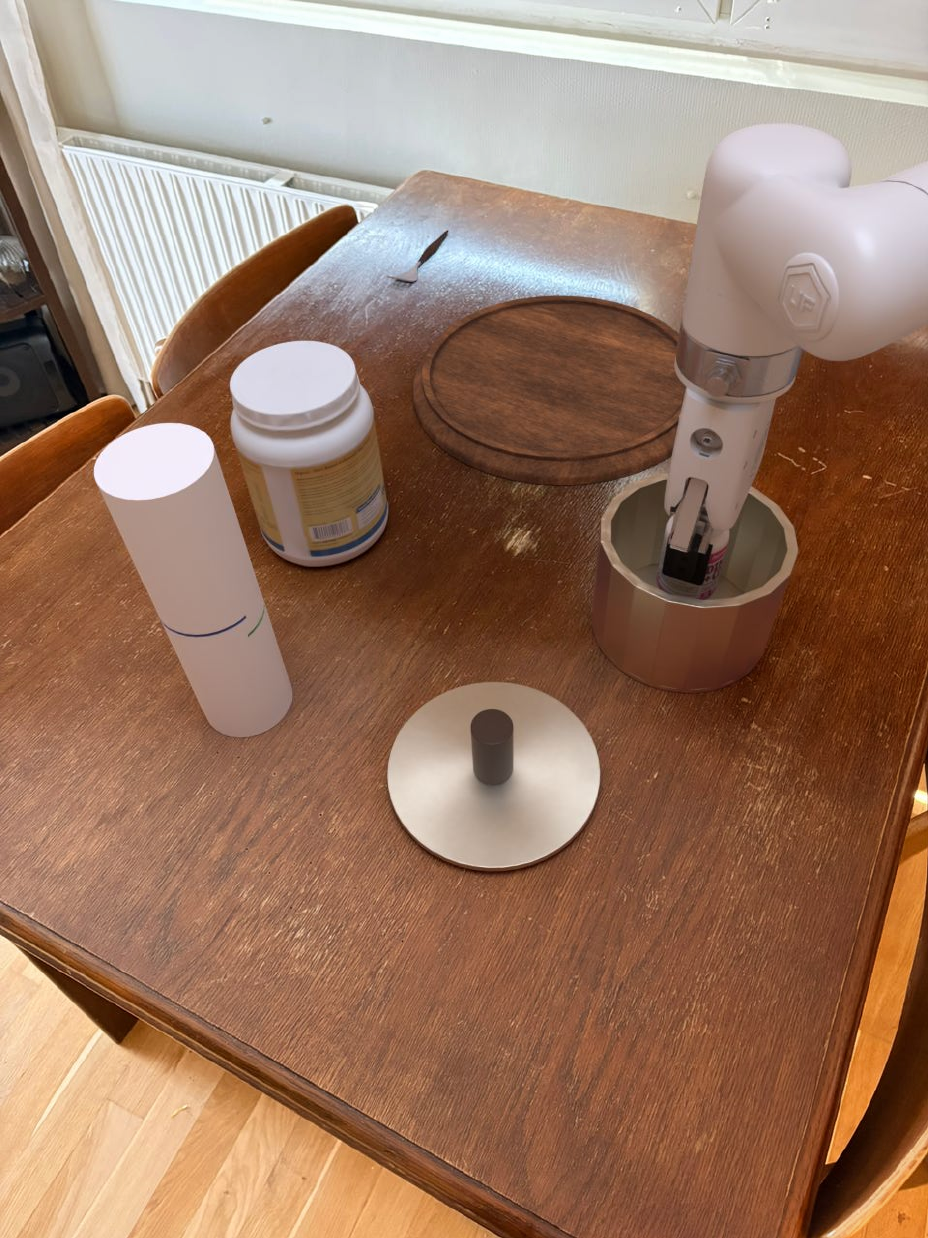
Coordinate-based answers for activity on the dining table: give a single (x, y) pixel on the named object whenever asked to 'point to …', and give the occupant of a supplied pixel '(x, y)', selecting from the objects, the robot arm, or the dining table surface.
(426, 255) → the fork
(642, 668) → the pot
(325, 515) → the supplement tub
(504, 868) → the lid
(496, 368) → the cutting board
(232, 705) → the cylindrical container
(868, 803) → the dining table surface
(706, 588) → the pill bottle
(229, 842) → the dining table surface
